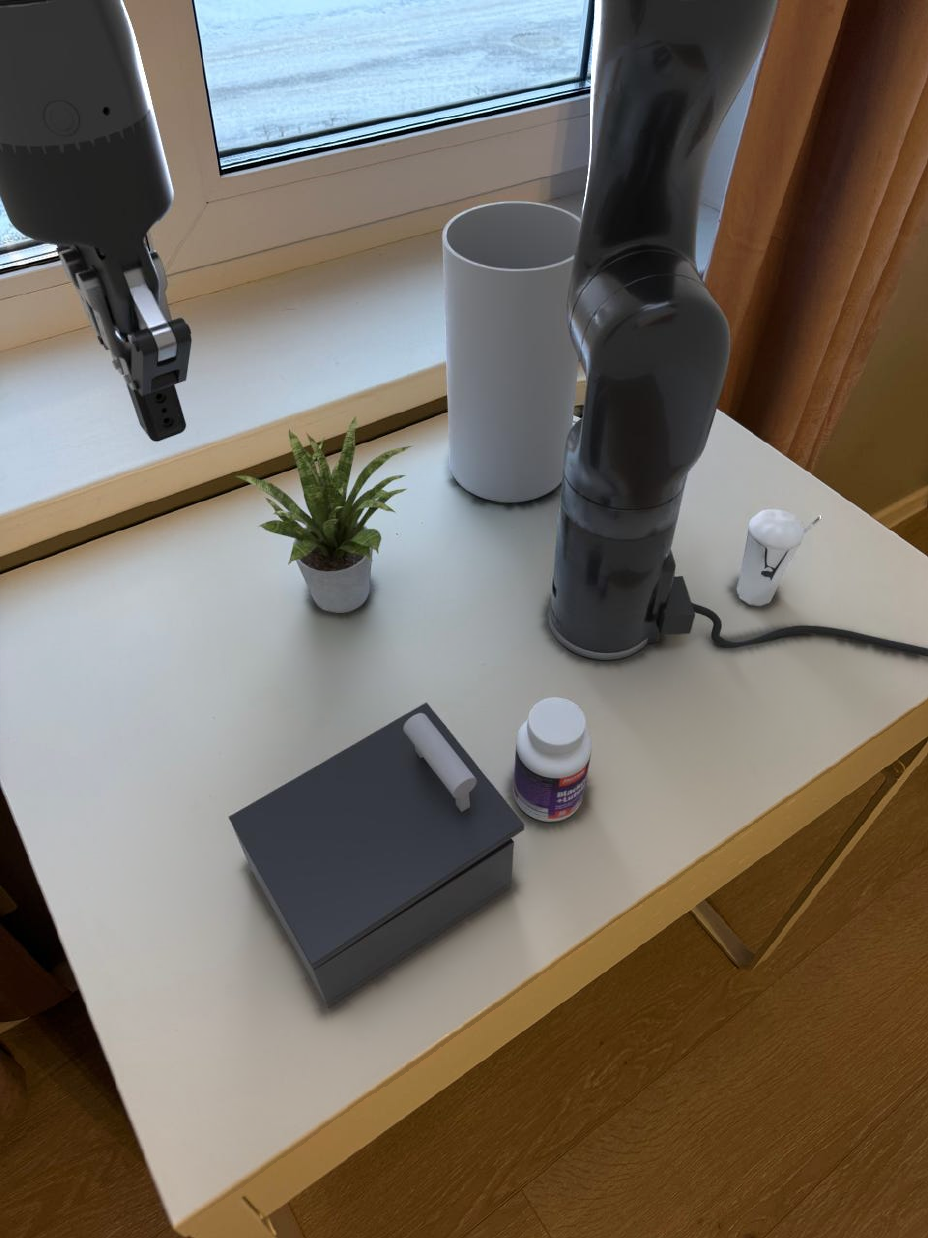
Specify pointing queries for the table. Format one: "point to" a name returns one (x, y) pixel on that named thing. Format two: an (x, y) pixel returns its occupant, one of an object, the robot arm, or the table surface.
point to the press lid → (373, 831)
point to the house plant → (331, 523)
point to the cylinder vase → (509, 347)
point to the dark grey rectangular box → (404, 924)
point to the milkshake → (768, 554)
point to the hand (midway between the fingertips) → (164, 430)
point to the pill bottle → (552, 760)
